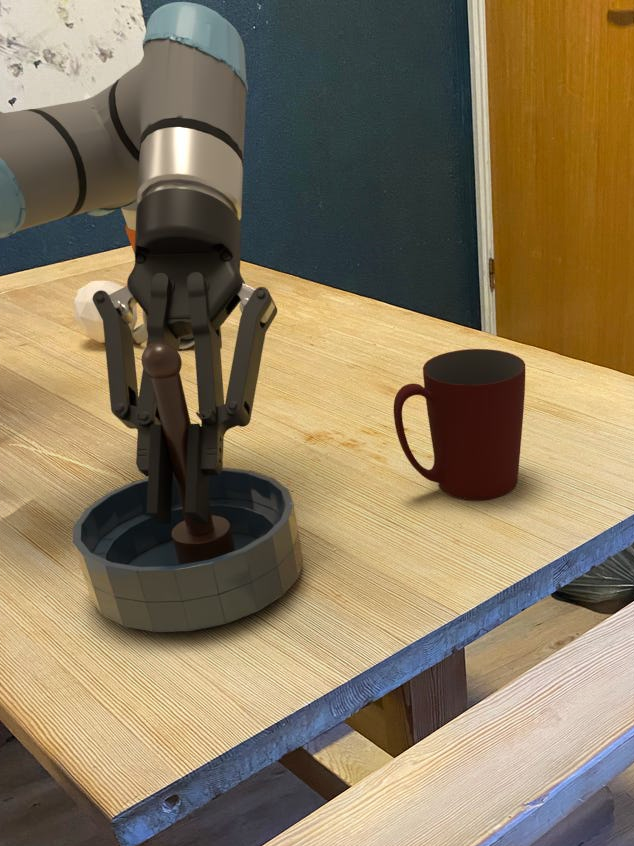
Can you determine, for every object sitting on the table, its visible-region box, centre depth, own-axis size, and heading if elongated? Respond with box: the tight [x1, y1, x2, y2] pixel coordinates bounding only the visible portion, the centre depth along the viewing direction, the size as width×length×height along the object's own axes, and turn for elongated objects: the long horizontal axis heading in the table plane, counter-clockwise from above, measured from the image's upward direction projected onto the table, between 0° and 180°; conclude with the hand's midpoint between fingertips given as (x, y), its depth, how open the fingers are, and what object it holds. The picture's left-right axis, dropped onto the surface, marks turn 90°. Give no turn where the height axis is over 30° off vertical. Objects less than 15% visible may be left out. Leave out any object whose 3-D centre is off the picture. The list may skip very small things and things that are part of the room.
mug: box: [393, 348, 526, 501], centre depth 83 cm, size 12×9×11 cm
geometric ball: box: [73, 280, 138, 344], centre depth 121 cm, size 8×8×8 cm
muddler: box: [141, 342, 236, 565], centre depth 68 cm, size 4×4×17 cm
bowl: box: [72, 466, 304, 633], centre depth 73 cm, size 16×16×6 cm
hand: (177, 517), depth 66 cm, fingers closed on muddler, 2 cm apart
